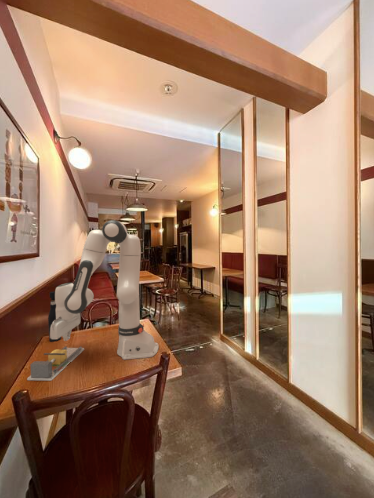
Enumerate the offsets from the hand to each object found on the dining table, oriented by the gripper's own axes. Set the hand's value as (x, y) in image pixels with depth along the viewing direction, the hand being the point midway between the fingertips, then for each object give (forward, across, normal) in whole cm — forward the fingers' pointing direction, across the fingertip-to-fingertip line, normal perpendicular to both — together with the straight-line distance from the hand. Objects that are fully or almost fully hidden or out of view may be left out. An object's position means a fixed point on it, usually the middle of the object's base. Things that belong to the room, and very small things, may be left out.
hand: (67, 339), depth 111 cm
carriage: (+7, -9, 0) cm, 12 cm away
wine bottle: (+9, +18, +20) cm, 29 cm away
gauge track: (+9, -6, 0) cm, 11 cm away
